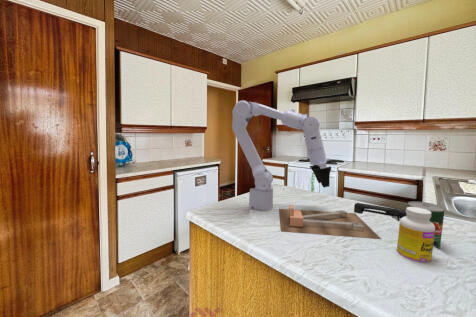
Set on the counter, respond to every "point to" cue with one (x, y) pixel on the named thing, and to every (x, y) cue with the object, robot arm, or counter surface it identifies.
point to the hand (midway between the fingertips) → (323, 184)
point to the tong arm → (326, 215)
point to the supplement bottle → (416, 235)
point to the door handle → (389, 211)
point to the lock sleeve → (295, 217)
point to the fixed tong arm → (334, 224)
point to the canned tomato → (433, 218)
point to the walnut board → (327, 231)
